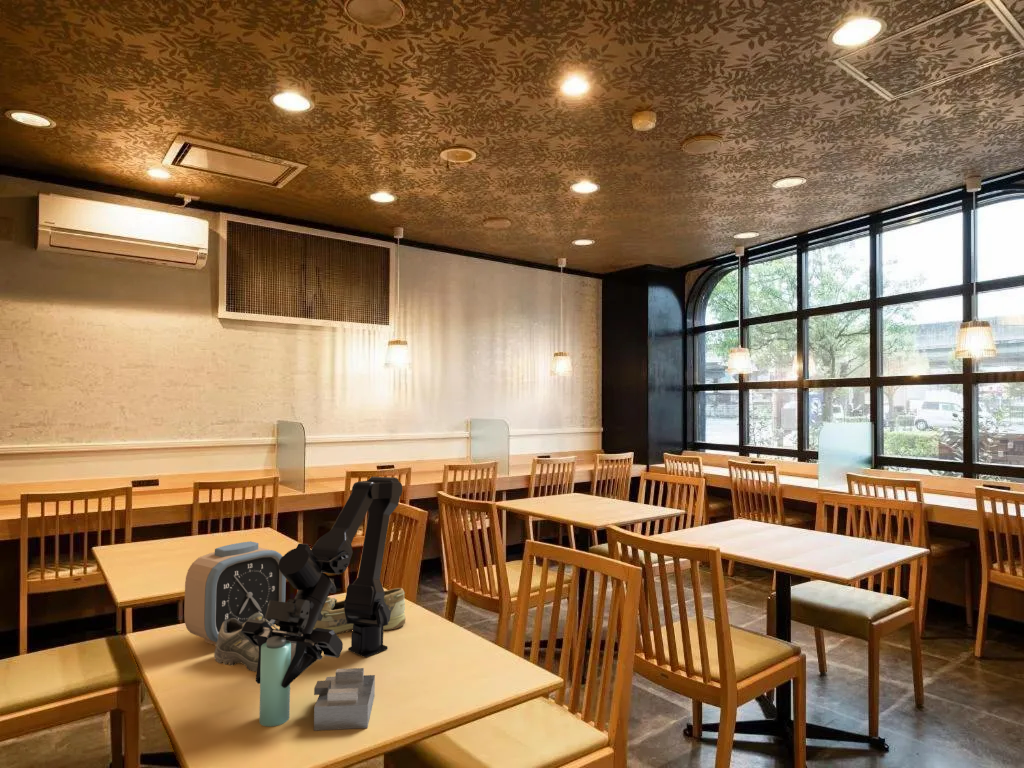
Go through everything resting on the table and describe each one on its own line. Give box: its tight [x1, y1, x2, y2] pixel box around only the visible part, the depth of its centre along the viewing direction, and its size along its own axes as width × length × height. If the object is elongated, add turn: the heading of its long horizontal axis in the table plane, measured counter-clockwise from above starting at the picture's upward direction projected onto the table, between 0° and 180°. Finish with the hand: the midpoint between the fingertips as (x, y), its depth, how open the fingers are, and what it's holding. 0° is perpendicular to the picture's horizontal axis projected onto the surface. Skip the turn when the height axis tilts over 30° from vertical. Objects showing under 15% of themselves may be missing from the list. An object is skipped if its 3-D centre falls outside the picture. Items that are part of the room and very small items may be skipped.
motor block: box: [313, 667, 376, 731], centre depth 115 cm, size 12×10×6 cm
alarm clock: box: [183, 541, 287, 646], centre depth 151 cm, size 21×10×22 cm, turn 148°
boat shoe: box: [313, 587, 406, 635], centre depth 159 cm, size 11×30×9 cm, turn 106°
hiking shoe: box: [213, 612, 296, 673], centre depth 137 cm, size 9×21×12 cm
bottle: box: [258, 636, 291, 727], centre depth 113 cm, size 5×5×14 cm
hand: (270, 684), depth 111 cm, fingers closed on bottle, 5 cm apart
